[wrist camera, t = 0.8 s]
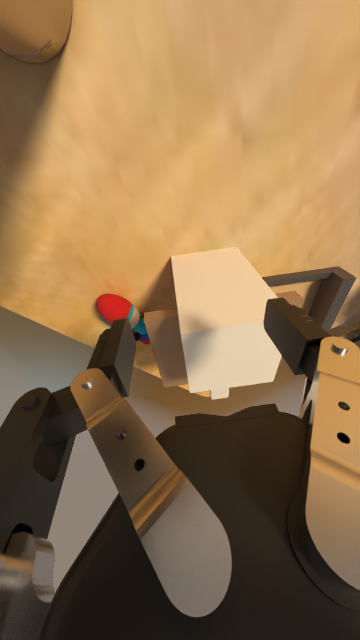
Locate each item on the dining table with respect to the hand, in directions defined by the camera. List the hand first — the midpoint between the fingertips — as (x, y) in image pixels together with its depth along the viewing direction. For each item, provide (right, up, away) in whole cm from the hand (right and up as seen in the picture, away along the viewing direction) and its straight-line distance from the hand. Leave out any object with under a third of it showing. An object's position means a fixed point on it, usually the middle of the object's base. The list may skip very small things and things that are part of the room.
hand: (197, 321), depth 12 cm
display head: (+4, +2, +26) cm, 26 cm away
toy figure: (-10, +1, +26) cm, 28 cm away
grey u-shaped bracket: (+20, +2, +28) cm, 34 cm away
